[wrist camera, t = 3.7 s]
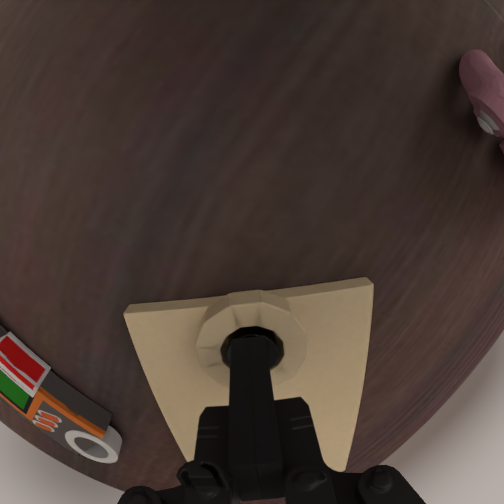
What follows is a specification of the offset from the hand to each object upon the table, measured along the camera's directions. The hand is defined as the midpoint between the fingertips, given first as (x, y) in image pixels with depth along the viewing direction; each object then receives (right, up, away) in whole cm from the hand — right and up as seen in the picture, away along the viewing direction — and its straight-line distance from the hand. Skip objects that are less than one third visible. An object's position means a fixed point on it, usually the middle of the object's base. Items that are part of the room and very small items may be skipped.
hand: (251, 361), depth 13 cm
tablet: (+1, -6, +5) cm, 8 cm away
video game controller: (+16, +13, 0) cm, 20 cm away
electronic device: (-16, -6, +5) cm, 18 cm away
